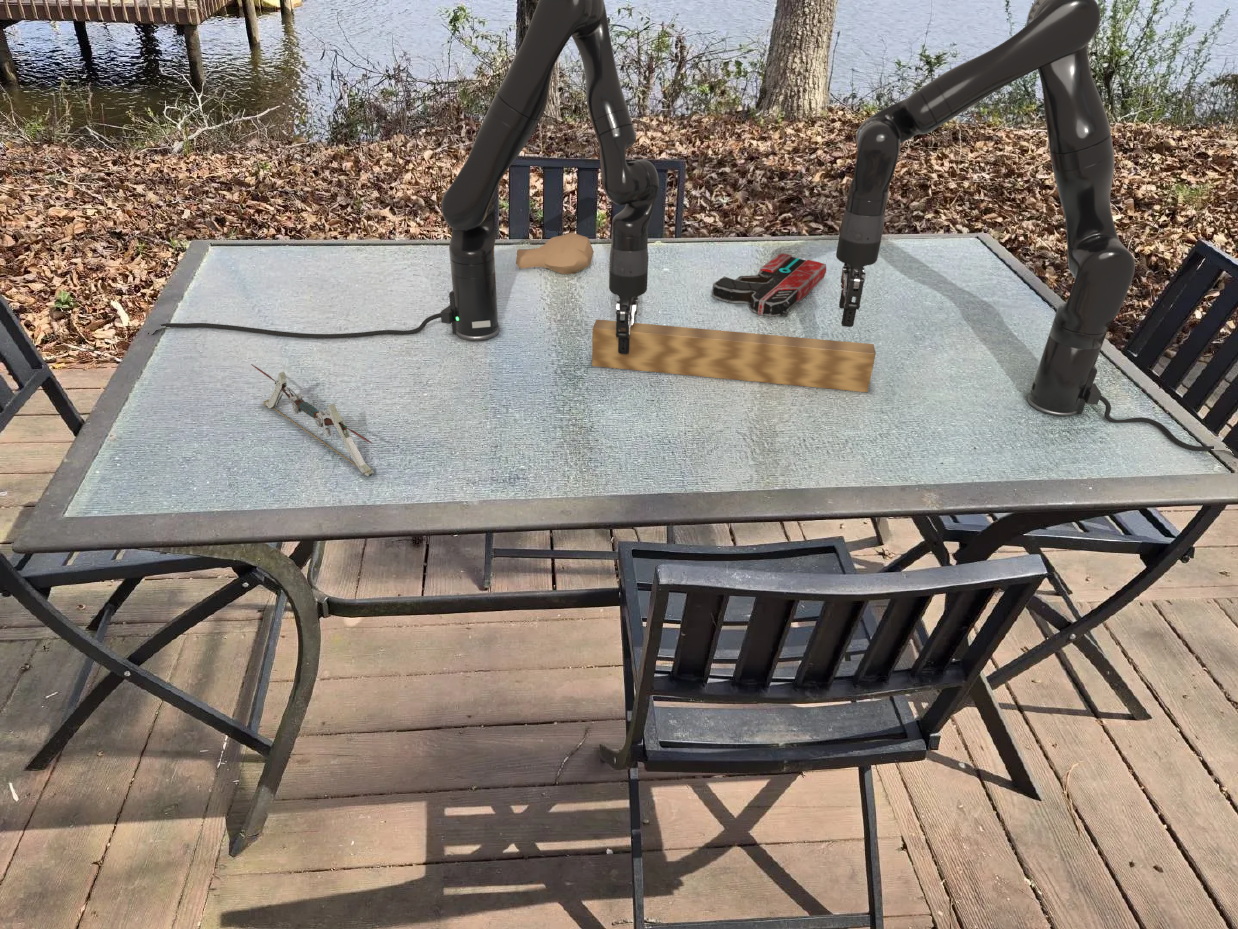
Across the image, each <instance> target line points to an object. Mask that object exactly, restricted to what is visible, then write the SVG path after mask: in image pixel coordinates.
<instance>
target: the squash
mask: <svg viewBox="0 0 1238 929" xmlns="http://www.w3.org/2000/svg"><path fill="white" fill-rule="evenodd" d="M594 253H595V251H594V249H593V246H592V243H591V242H590V239H589V237H587V236H584V235H581V234H579V233H574V232H568V233H565V234H563V235H558V236H552V237H551V238H550V239H548V240H547V241H546V242H545V243H544V244H542V245H541V246H539V247H534V248H518V249H516V258H515V264H516V266H517V267H518V269H520V270H522V269H529V268H530V269H531V268H544V269H549V270H551V271H553V272H555V273H558V274H561V275H572V274H573V275H574V274H578V273H579V272H580V271H583V270H585V269H587V268H589V267H590V266H591V264H592V260H593V257H594Z"/></svg>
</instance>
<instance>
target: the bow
mask: <svg viewBox="0 0 1238 929" xmlns="http://www.w3.org/2000/svg"><path fill="white" fill-rule="evenodd" d="M250 365H251V366H252V367H253V368H255V369H256V370H257V371H259V373H261V374H263V375H264V376H266V377H267V378H269V379H270V380H272V381H273V382H274V390H273V391H272V392H271V394H270V396H269V398H268V399H265V400H263V401H262V403H263V406H264V407H266V408H267V409H273V410H274V411H276V412H277V413H278V414H280V415H281V416H283V417H285V419H287V420H289V421H290V422H292V423H293V424H295V425H296V426H297V427H299V428H301V429H302V430H304V431H305V432H306V433H307V434H309V435H311V436H312V437H313V438H315V439H316V440H318V441H319V442H320V443H322V444H324V445H325V446H326V447H328V448H329V449H330V450H332V451H334V452H335V453H337V454H338V455H340V456H341V457H342V458H343V459H345V460H347V461H348V462H349V463H351V464H352V465H354V466H355V467H357V468H358V470H359V471H360V472H361V473H362V475H364V476H367V477H370V475H373V474H375V473H374V471H373V469H372V468H371V467H370V466H368V464H367V463H366V462H365V460H364V458H363V456H362V454H361V452H360V451H359V448H358V447H357V445H356V443H355V441H354V440H353V438H352V436H351V434H350V432H351V433H353V434H354V435H356V436H357V437H358V438H360V439H362V440H363V441H365V442H367V443H369V444H373V442H372V441H371V440H369V439H368V438H366V437H365V436H363V434H360V433H359V432H357V431H355V430H353V429H351V428H349V427H348V426H347V425H346V423H345V421H344V419H343V417H342V416H341V414H340V413H339V411H338V409H337V407H336V405H335V403H334V402H333V403H331V404H328V405H327V406H328V411H327V409H324V410H321V411H319V409H318V408H317V407H316V406H314V405H312V404H311V403H310V402H308V401H305V400H304V399H303V398H304V397H303V394H302V393H298V394H297V393H296V392H295V391H294V390H293V389H292V388H290V387H288V386H287V385H288V381H287V375H286V372H285V371H283V372H280V373H278V375H277V379H276V380H275V379H274V378H273V377H271V375H269V374H268V373H267V372H265V371H263V369H261V368H259V367H257V366H256V365H254V364H253V363H251V364H250ZM283 394H284V395H285V396H286V398H288V399H289V401H290V402H289V403H290V404H291V407H292V410H291V411H292V414H293V415H294V416H296V415H298V414H302V412H303V413H304V414H306V415H308V416H309V417H311V418H312V419H315V424H316V426H317V427H319V428H321V429H323V433H324V436H325V437H326V438H328V437H330V436H333V435H334V433H333V430H332V426H334V427H335V428H336V431H337V432H338V434H339V436H340V438H341V440H342V443H343V444H344V446H345V449H346V450H347V452H348V453H349V455H350V456H351V459H352V460H353V461H352V460H350V459H349V458H348V457H346V456H344V455H343V454H342V453H340V452H339V451H338V450H336V449H334V447H332V446H330V445H328V444H327V443H325V442H324V441H323V440H321V439H320V438H318V437H317V436H315V435H314V434H313V433H311V432H310V431H309V430H307V429H305V428H304V427H303V426H301V425H300V424H298V423H297V422H295V421H294V420H292V419H291V418H289V417H288V416H286V415H285V414H284V413H282V412H281V411H279V410H278V409H276V406H278V405H279V404H280V401H281V400H282V397H283Z"/></svg>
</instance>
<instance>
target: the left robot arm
mask: <svg viewBox="0 0 1238 929" xmlns="http://www.w3.org/2000/svg"><path fill="white" fill-rule="evenodd" d="M608 21H609V20H608V15H607V9H606V4H605V0H538V2H537V4H536V7H535V10H534V12H533V15H532V18H531V20H530V22H529V25H528V28H527V30H526V33H525V36H524V38H523V40H522V43H521V45H520V47H519V49H518V50H517V52H516V55H515V56H514V58H513V61H512V62H511V65H510V66H509V68H508V71H507V73H506V75H505V77H504V79H503V80H502V82H501V84H500V86H499V88H498V90H497V91H496V94H495V95H494V97H493V99H492V101H491V103H490V105H489V107H488V109H487V112H486V114H485V116H484V117H483V120H482V122H481V125H480V128H479V130H478V132H477V134H476V137H475V139H474V142H473V144H472V147H471V150H470V152H469V155H468V157H467V158H466V161H465V163H464V164H463V166H462V167H461V169H460V170H459V172H458V173H457V176H456V177H455V178H454V180H453V181H452V182H451V184H450V186H449V187H448V188H447V189H446V191H444V193H443V196H442V199H441V213H442V217H443V219H444V221H445V222H446V224H447V225H448V226H449V228H451V235H450V240H449V246H448V251H449V263H450V264H449V265H450V275H451V276H450V277H451V286H452V290H451V291H450V292H448V297H449V305H448V306H446V307H445V308H443V309H442V310H441V311H440V312H439V313H434V314H432V315H430V316H427V317H426V318H425V319H424V320H423V321H422V322H421V324H420V325H419V326H418V327H416V328H412V329H407V330H402V329H401V330H400V329H399V330H398V329H382V330H372V331H361V332H347V333H345V332H344V333H306V332H305V333H304V332H292V331H281V330H273V329H264V328H255V327H248V326H241V325H233V324H232V325H231V324H223V323H222V324H220V323H208V322H189V323H188V322H187V323H186V322H184V323H183V322H181V323H180V322H168V323H162V324H161V323H160V325H161V326H166V327H170V328H169V329H173V328H175V329H176V328H177V329H178V328H179V329H180V328H181V329H182V328H183V329H189V328H191V329H192V328H206V329H219V330H230V331H239V332H246V333H247V332H248V333H254V334H263V335H269V336H270V335H271V336H279V337H288V338H300V339H302V338H303V339H349V338H362V337H363V338H364V337H365V338H366V337H373V336H383V335H396V336H397V335H399V336H406V335H407V336H408V335H414V334H418V333H420V332H421V331H423V330H424V329H425V327H426V326H427V325H428V323H430V322H432V321H434V320H436V319H440V321H441V322H440V323H442V324H445V325H446V324H447V325H451V332H452V334H453V335H456V336H457V337H458V338H460V339H462V340H464V341H470V342H479V341H481V342H482V341H486V340H487V341H488V340H491V339H493V338H494V337H495V338H496V337H497V335H499V333H500V325H499V312H498V311H499V310H498V296H497V295H498V294H497V293H498V292H497V276H496V275H497V274H496V261H495V259H496V258H495V246H496V238H497V237H496V233H497V232H496V230H497V229H496V228H497V227H496V204H495V197H494V194H495V192H496V190H497V188H498V186H499V184H500V183H501V181H502V178H503V177H504V176H505V174H506V173H507V171H508V170H509V169H510V167H511V166H512V165H513V163H514V162H515V160H517V158H518V157H519V155H520V154H521V152H522V151H523V150H524V148H525V146H526V145H527V143H528V142H529V140H530V138H531V137H532V136H533V134H534V132H535V130H536V128H537V126H538V124H539V122H541V119H542V117H543V116H544V113H545V110H546V107H547V106H548V100H549V94H550V88H551V81H552V80H551V79H552V74H553V71H554V68H555V65H556V63H557V61H558V59H559V57H560V55H561V54H562V52H563V50H564V48H565V46H566V45H567V44H568V41H569V40H570V39H571V38H572V39H573V41H574V44H575V46H576V48H577V50H578V53H579V55H580V58H581V62H582V65H583V70H584V71H583V72H584V76H585V77H584V78H585V96H586V97H585V98H586V107H587V111H588V115H589V119H590V123H591V125H592V128H593V131H594V135H595V138H596V140H597V143H598V147H599V148H598V150H599V162H600V175H601V176H600V177H601V184H602V188H603V191H604V193H605V196H606V197H607V198H608V199H609V201H611V203H613V204H615V205H617V206H624V208H623V209H622V210H620V212H618V213H617V214H615V215H614V216H613V217H612V220H611V230H610V232H611V233H610V234H611V235H610V250H609V252H610V253H609V262H608V263H609V267H608V268H609V269H608V289H609V292H610V293H612V294H613V295H615V296H618V299H617V301H616V306H615V309H616V311H615V321H616V337H617V338H618V352H619V353H620V354H628V353H629V346H630V336H631V333H630V332H631V326H633V325H634V323H636V321H637V315H638V312H639V301H640V298H639V297H640V296H642V295H644V294H646V292H647V291H648V276H649V249H648V247H649V224H650V221H651V219H652V217H653V216H652V215H653V212H654V208H655V206H656V203H657V197H658V194H659V189H660V179H659V174H658V171H657V169H656V167H655V165H654V164H653V163H652V162H651V161H649V160H647V159H637V160H632V161H629V162H627V160H626V150H628V149H629V148H631V147H632V146H634V145H635V143H636V141H637V135H636V130H635V127H634V126H635V125H634V124H633V121H632V117H631V114H630V111H629V107H628V104H627V101H626V98H625V95H624V91H623V88H622V85H621V81H620V78H619V74H618V70H617V64H616V59H615V55H614V51H613V50H614V49H613V45H612V40H611V34H610V28H609V22H608ZM621 328H626V331H621ZM158 331H159V330H157V331H156V332H158Z"/></svg>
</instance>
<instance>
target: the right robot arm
mask: <svg viewBox="0 0 1238 929" xmlns="http://www.w3.org/2000/svg"><path fill="white" fill-rule="evenodd" d="M1027 13H1028V14H1027V17H1026V23H1025V26H1024V27H1023V28H1021V29H1020V30H1019V31H1018V32H1017V33H1015V34H1014V35H1012V36H1010V38H1008V39H1007V40H1005V41H1003V42H1002V43H1000V44H999V45H997V46H995V47H994V48H992V49H990V50H988V51H986V52H984V53H983V54H980V55H978V56H976V57H974V58H972V59H969V60H967V61H965V62H963V63H961V64H959V65H956V66H955V67H953V68H951V69H949V70H947V71H946V72H943V73H942V74H940V75H938V76H937V77H936V78H934V79H933V80H931V81H930V82H928V83H927V84H925V85H923V86H922V87H920V88H919V89H917V90H916V91H914V92H913V93H912V94H911V95H909V96H908V97H906V98H904V99H902V100H900V101H897V102H895V103H893V104H891V105H888V106H887V107H885V108H883V109H881V110H880V111H877V112H876V113H874V114H873V115H871V116H870V117H868V118H867V119H866V120H864V121H863V122H862V123H861V125H860V126H859V127H858V128H857V130H856V134H855V146H856V159H855V167H854V171H853V178H851V180H850V182H849V185H848V186H849V187H848V190H847V196H846V201H845V202H846V203H845V208H844V212H843V215H842V219H841V223H840V228H839V235H838V240H837V247H836V252H835V258H836V259H837V260H838V261H839V262H841V263H843V266H842V268H841V277H840V283H841V284H840V288H841V292H840V298H839V303H838V307H839V309H841V310H843V311H842V316H841V322H840V323H841V326H842V327H845V328H852V327H854V325H855V319H856V315H857V314H856V313H857V311H858V310H860V307H861V300H862V295H863V289H864V283H865V281H866V272H865V269H866V268H865V267H867V266H871V265H874V264H876V262H877V261H878V258H879V254H880V248H881V243H882V238H883V232H884V227H885V218H886V217H885V216H886V210H887V205H888V204H887V203H888V201H889V200H888V199H889V193H890V186H891V183H892V179H893V177H894V173H895V171H896V167H897V164H898V159H899V156H900V150H901V144H903V143H904V142H906V141H908V140H910V139H911V138H913V137H915V136H918V135H926V134H929V133H931V132H932V131H933V132H934V131H935V130H937V129H938V128H940V127H942V126H943V125H944V124H946V123H947V122H950V121H951V120H952V119H954V118H956V117H958V116H959V115H960V114H962V113H964V112H965V111H966V110H968V109H970V108H972V107H973V106H974V105H976V104H977V103H979V102H981V101H982V100H984V99H985V98H987V97H989V96H990V95H992V94H994V93H996V92H998V91H999V90H1001V89H1003V88H1004V87H1006V86H1007V85H1010V84H1012V83H1013V82H1015V81H1017V80H1018V79H1021V78H1023V77H1025V76H1027V75H1029V74H1031V73H1033V72H1035V71H1037V72H1038V75H1039V79H1040V84H1041V88H1042V89H1041V90H1042V96H1043V108H1044V118H1045V127H1046V134H1047V135H1046V136H1047V142H1048V149H1049V155H1050V161H1051V166H1052V172H1053V175H1054V180H1055V184H1056V189H1057V192H1058V197H1059V200H1060V203H1061V207H1062V210H1063V214H1064V220H1065V233H1066V249H1067V250H1066V252H1067V253H1066V255H1067V264H1068V265H1067V266H1068V270H1069V272H1070V274H1071V275H1072V277H1073V278H1074V282H1073V284H1072V287H1071V290H1070V293H1069V296H1068V298H1067V300H1066V301H1064V302H1062V303H1060V305H1058V307H1057V310H1056V312H1055V315H1054V318H1053V322H1052V325H1051V328H1050V330H1049V334H1048V337H1047V339H1046V343H1045V346H1044V349H1043V352H1042V355H1041V358H1040V361H1039V365H1038V367H1037V370H1036V374H1035V376H1034V378H1033V380H1032V383H1031V387H1030V392H1029V394H1028V395H1027V402H1028V404H1029V405H1030V406H1031V407H1033V408H1034V409H1035V410H1037V411H1039V412H1041V413H1045V414H1047V415H1051V416H1058V417H1070V416H1074V415H1083V411H1084V409H1085V406H1086V404H1087V405H1094V406H1096V405H1097V406H1098V404H1099V402H1102V403H1103V404H1104V406H1105V411H1104V414H1103V416H1104V419H1105V420H1106V421H1107V422H1108V423H1112V424H1126V423H1127V424H1128V423H1131V424H1132V423H1147V424H1150V425H1152V426H1155V427H1157V428H1158V429H1160V430H1161V431H1162V432H1163V433H1164V435H1165V436H1167V437H1168V439H1169V440H1171V441H1172V442H1173V443H1174V444H1175V445H1177V446H1179V447H1181V448H1183V449H1186V450H1189V451H1195V452H1210V451H1209V450H1211V449H1214V446H1215V445H1204V446H1203V445H1200V446H1199V445H1193V444H1189V443H1186V442H1184V441H1182V440H1180V439H1179V438H1177V437H1176V436H1175V435H1174V434H1173V432H1171V431H1170V430H1169V428H1167V427H1166V426H1165V425H1164V424H1162V423H1161V422H1159V421H1157V420H1155V419H1153V418H1148V417H1143V416H1141V417H1131V418H1125V419H1115V418H1113V417H1112V416H1110V414H1111V411H1112V405H1111V403H1110V401H1109V400H1108V399H1107V398H1106V397H1104V395H1102V392H1101V391H1100V389H1099V387H1098V386H1097V383H1095V379H1096V376H1097V374H1098V369H1097V367H1096V364H1097V362H1098V358H1099V355H1100V352H1101V350H1102V347H1103V344H1104V342H1105V339H1106V336H1107V333H1108V331H1109V328H1110V325H1111V323H1112V322H1113V321H1115V319H1116V318H1117V317H1118V315H1119V313H1120V311H1121V309H1122V307H1123V304H1124V302H1125V299H1126V297H1127V295H1128V292H1129V290H1130V287H1131V285H1132V281H1133V279H1134V275H1135V272H1136V260H1135V258H1134V256H1133V254H1132V253H1131V251H1129V249H1128V248H1127V247H1126V246H1125V245H1124V244H1123V242H1122V241H1121V239H1120V238H1119V236H1118V233H1117V232H1118V231H1117V229H1116V225H1115V222H1114V218H1113V213H1112V207H1111V194H1112V193H1111V192H1112V186H1113V180H1114V175H1115V174H1114V173H1115V151H1114V145H1113V137H1112V130H1111V126H1110V122H1109V118H1108V115H1107V112H1106V109H1105V106H1104V104H1103V101H1102V98H1101V95H1100V93H1099V91H1098V88H1097V86H1096V83H1095V81H1094V78H1093V75H1092V72H1091V67H1090V60H1089V50H1088V44H1089V43H1090V42H1091V41H1092V40H1093V39H1094V37H1095V36H1096V33H1097V32H1098V31H1099V27H1100V24H1101V19H1102V18H1101V8H1100V6H1099V4H1098V2H1097V0H1034V2H1033V3H1032V5H1031V7H1030V8H1029V11H1028V12H1027ZM853 298H855V301H853ZM1224 446H1225V445H1224ZM1225 447H1226V448H1228V449H1230V450H1231V451H1232V453H1233V454H1234V456H1233V457H1234V459H1237V460H1238V451H1237V450H1235V449H1234V448H1232V447H1229V446H1225Z"/></svg>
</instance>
